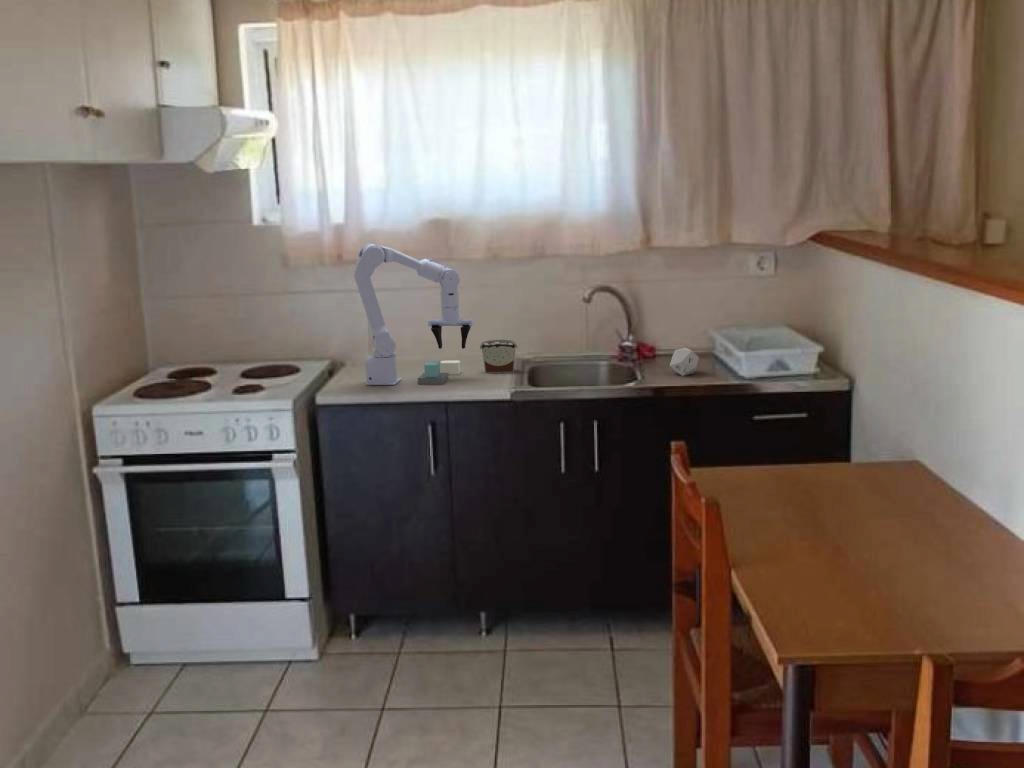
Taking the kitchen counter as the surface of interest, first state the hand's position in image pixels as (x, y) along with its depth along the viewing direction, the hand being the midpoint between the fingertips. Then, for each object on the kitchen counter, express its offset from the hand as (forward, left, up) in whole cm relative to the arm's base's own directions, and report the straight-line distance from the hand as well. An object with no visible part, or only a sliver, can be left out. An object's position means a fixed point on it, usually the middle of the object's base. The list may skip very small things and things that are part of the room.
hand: (452, 348), depth 329 cm
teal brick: (-5, -7, -7) cm, 11 cm away
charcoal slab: (-5, -7, -10) cm, 13 cm away
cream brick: (-2, +5, -10) cm, 11 cm away
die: (+74, +5, -10) cm, 75 cm away
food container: (+14, +9, -10) cm, 19 cm away
